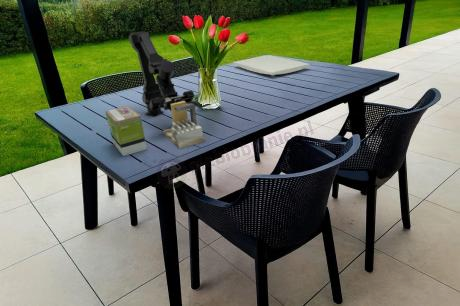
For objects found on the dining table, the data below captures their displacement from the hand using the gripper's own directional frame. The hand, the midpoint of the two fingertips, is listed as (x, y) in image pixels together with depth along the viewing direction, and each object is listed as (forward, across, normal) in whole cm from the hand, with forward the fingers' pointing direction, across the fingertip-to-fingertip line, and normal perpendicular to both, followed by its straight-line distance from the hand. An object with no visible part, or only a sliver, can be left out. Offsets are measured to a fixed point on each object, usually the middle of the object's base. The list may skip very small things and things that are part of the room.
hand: (179, 117), depth 147 cm
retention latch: (+6, 0, -3) cm, 7 cm away
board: (-44, -97, -57) cm, 121 cm away
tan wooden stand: (+7, 0, -4) cm, 8 cm away
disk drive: (-19, -26, -32) cm, 45 cm away
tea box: (+4, +22, -8) cm, 23 cm away
